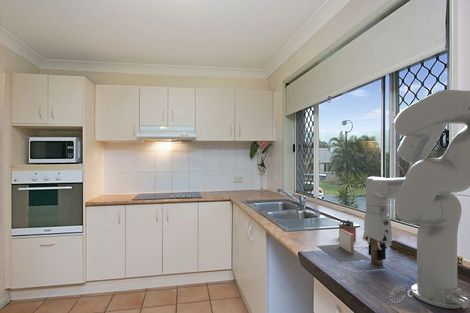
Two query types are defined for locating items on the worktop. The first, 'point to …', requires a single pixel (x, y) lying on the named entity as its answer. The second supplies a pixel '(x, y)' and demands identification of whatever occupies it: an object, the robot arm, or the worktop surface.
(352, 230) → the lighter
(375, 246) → the brown wooden block
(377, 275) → the worktop surface
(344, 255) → the mat
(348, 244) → the tile
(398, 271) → the worktop surface
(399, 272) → the worktop surface
